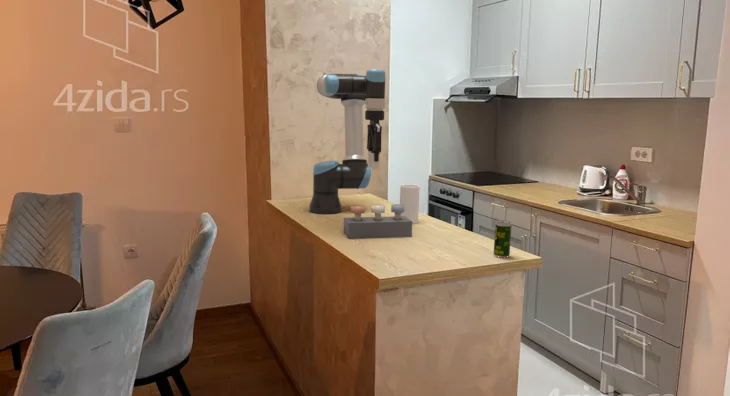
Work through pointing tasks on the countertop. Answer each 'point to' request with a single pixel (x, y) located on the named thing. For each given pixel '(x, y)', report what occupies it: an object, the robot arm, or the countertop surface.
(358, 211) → the terracotta key
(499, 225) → the beer can
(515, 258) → the countertop surface
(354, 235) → the key panel
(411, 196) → the cup
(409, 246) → the countertop surface
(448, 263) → the countertop surface
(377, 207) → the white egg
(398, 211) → the pale blue knob
